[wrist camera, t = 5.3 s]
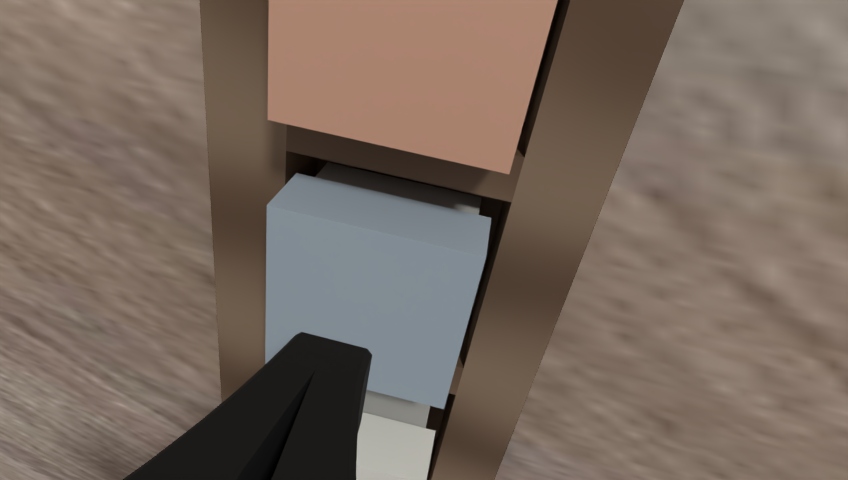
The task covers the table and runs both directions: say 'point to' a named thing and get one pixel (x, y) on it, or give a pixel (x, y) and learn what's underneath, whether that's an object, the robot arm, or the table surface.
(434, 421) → the brown long flat frame
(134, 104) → the table surface
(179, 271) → the table surface
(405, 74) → the terracotta key
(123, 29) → the table surface
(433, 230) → the slate key
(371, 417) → the ivory key
